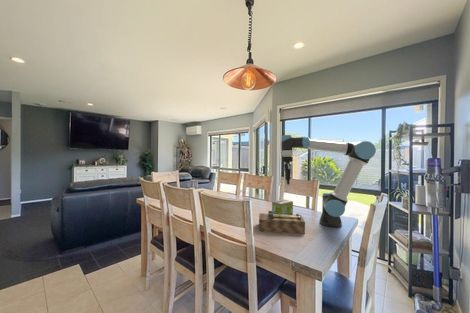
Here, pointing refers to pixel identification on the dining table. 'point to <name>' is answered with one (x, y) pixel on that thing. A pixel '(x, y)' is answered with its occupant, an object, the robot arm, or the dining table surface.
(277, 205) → the tea box
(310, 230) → the dining table surface
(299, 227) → the walnut chest
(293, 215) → the latch bar
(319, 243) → the dining table surface
